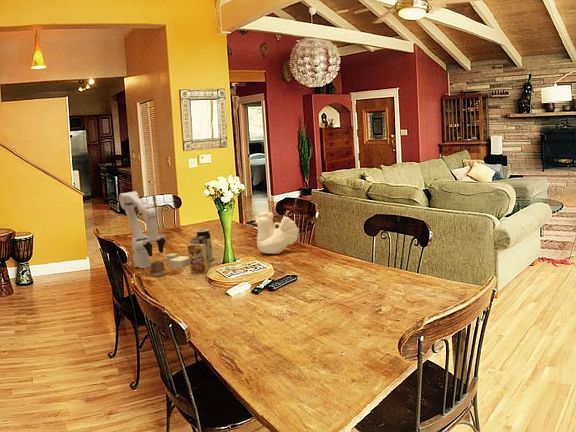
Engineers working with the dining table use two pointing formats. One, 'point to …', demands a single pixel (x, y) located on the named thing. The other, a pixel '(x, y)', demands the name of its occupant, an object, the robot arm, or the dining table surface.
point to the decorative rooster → (275, 233)
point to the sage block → (171, 257)
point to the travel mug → (206, 233)
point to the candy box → (197, 258)
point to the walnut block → (157, 266)
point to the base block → (179, 261)
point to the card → (157, 274)
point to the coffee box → (201, 241)
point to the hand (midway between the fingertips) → (156, 254)
